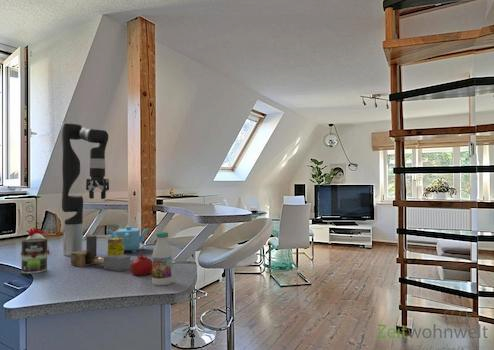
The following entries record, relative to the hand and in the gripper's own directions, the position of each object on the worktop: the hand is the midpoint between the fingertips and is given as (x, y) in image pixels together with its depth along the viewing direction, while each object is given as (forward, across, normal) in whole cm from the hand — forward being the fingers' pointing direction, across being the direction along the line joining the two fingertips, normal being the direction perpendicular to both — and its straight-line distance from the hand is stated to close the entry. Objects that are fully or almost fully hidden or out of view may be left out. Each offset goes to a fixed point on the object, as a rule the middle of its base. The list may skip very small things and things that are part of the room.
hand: (97, 198), depth 185 cm
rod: (+31, +12, -9) cm, 34 cm away
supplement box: (+32, +7, +6) cm, 34 cm away
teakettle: (+32, -5, +27) cm, 42 cm away
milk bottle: (+32, +59, -19) cm, 70 cm away
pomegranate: (+32, +41, -11) cm, 53 cm away
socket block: (+32, +1, -9) cm, 33 cm away
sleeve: (+32, +24, -9) cm, 41 cm away
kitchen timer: (+32, -48, -2) cm, 58 cm away
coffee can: (+32, -8, -28) cm, 43 cm away
